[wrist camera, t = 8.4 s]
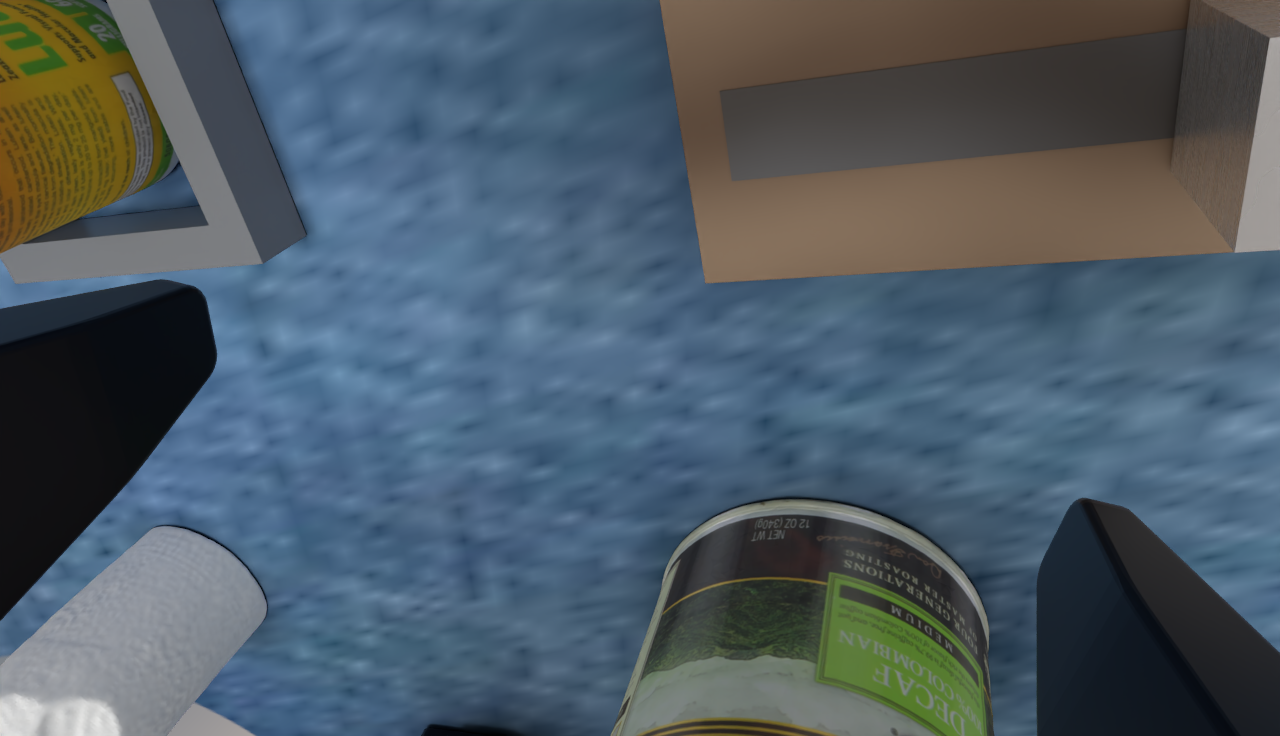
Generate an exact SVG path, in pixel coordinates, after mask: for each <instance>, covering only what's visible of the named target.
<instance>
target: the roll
mask: <svg viewBox="0 0 1280 736" xmlns="http://www.w3.org/2000/svg"><path fill="white" fill-rule="evenodd" d="M266 612H267V603H266V600H265V597H264V595H263V592H262V590H261V588H260V586H259V585H258V583H257V582H256V580H255V579H254V577H253V576H252V575H251V574H250V572H249V570H248V569H247V568H246V567H245V566H244V565H243V564H242V563H241V562H240V561H239V560H238V559H237V558H236V557H235V556H234V555H233V554H232V553H231V552H229V551H228V550H227V549H225V548H224V547H222V546H220V545H219V544H217V543H216V542H214V541H212V540H210V539H207V538H206V537H204V536H202V535H200V534H197V533H194V532H192V531H190V530H187V529H182V528H178V527H171V526H161V527H155V528H153V529H151V530H150V531H149V532H147V533H146V534H145V535H144V536H143V537H142V538H141V539H140V540H139V541H137V542H136V543H135V544H134V545H133V546H132V547H130V548H129V549H127V551H126V552H125V553H124V554H123V555H122V556H120V557H119V558H118V559H117V560H116V561H115V562H113V563H112V564H111V565H110V566H109V567H107V568H106V569H105V570H104V571H103V572H102V573H101V574H99V575H98V576H97V577H96V578H94V579H93V580H92V581H91V582H90V583H89V584H88V585H87V586H86V587H85V588H84V589H82V590H81V591H80V592H79V593H78V594H77V595H76V596H74V597H73V598H72V599H71V600H70V601H69V602H68V603H67V604H66V605H64V607H62V608H61V609H60V610H59V611H58V612H56V613H55V614H54V615H53V616H52V617H51V618H50V619H49V620H48V621H47V622H46V623H45V624H44V625H43V626H42V627H41V628H39V630H38V631H37V632H36V633H35V634H34V635H33V636H31V637H30V638H29V639H28V640H27V641H25V642H24V643H23V644H22V645H21V646H20V647H19V648H18V649H17V650H16V651H15V652H14V653H13V654H12V655H10V656H9V657H8V658H7V659H6V660H5V661H4V663H2V664H1V665H0V736H167V735H168V733H169V732H170V731H171V729H172V728H173V727H174V726H175V725H176V723H177V722H178V721H179V720H180V718H181V717H182V716H183V715H184V713H185V712H186V711H187V710H188V709H189V708H190V707H191V705H192V704H193V703H194V702H195V701H196V699H197V698H198V697H199V696H200V695H201V693H202V692H203V691H204V690H205V689H206V688H207V687H208V685H209V684H210V683H211V681H212V680H213V679H214V678H215V676H216V675H217V674H218V673H219V672H220V670H221V669H222V668H223V667H224V666H225V664H226V663H227V662H228V661H229V660H230V658H231V657H232V656H233V655H234V654H235V653H236V652H237V651H238V650H239V648H240V647H241V646H242V645H243V644H244V643H245V641H246V640H247V639H248V638H249V637H250V636H251V635H252V634H253V632H254V631H255V630H256V629H257V628H258V627H259V626H260V624H261V623H262V622H263V620H264V618H265V616H266Z"/></svg>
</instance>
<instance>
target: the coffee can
mask: <svg viewBox="0 0 1280 736" xmlns="http://www.w3.org/2000/svg"><path fill="white" fill-rule="evenodd" d="M988 649H989V626H988V621H987V615H986V613H985V611H984V607H983V605H982V602H981V600H980V598H979V596H978V594H977V592H976V590H975V588H974V587H973V585H972V584H971V582H970V581H969V579H968V578H967V576H966V575H965V574H964V572H963V571H962V570H961V569H960V568H959V567H958V566H957V565H956V564H955V563H954V561H953V560H952V559H951V558H950V557H949V556H947V555H946V554H945V553H944V552H943V551H942V550H941V549H939V548H938V547H937V546H936V545H934V544H933V543H932V542H930V541H929V540H928V539H926V538H925V537H923V536H922V535H920V534H918V533H917V532H916V531H913V530H911V529H909V528H907V527H905V526H903V525H901V524H899V523H896V522H894V521H893V520H891V519H889V518H886V517H883V516H881V515H879V514H876V513H874V512H871V511H868V510H865V509H862V508H858V507H854V506H849V505H844V504H840V503H835V502H829V501H820V500H809V499H781V500H771V501H765V502H760V503H754V504H749V505H745V506H741V507H738V508H735V509H731V510H729V511H727V512H724V513H722V514H720V515H718V516H715V517H713V518H712V519H710V520H708V521H707V522H705V523H703V524H702V525H700V526H699V527H698V528H697V529H695V530H694V531H693V532H691V533H690V534H689V535H688V536H687V537H686V538H685V539H684V540H683V541H682V542H681V543H680V545H679V546H678V547H677V548H676V550H675V551H674V553H673V555H672V557H671V558H670V561H669V563H668V565H667V568H666V570H665V574H664V578H663V582H662V588H661V592H660V596H659V599H658V602H657V605H656V608H655V611H654V614H653V616H652V619H651V622H650V625H649V628H648V631H647V634H646V637H645V639H644V642H643V645H642V648H641V651H640V654H639V657H638V660H637V662H636V665H635V668H634V671H633V674H632V677H631V680H630V683H629V685H628V688H627V691H626V694H625V697H624V700H623V703H622V706H621V708H620V711H619V714H618V718H617V720H616V722H615V725H614V728H613V731H612V733H611V736H994V731H993V715H992V704H991V693H990V677H989V665H988Z"/></svg>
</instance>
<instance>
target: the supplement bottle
mask: <svg viewBox="0 0 1280 736" xmlns="http://www.w3.org/2000/svg"><path fill="white" fill-rule="evenodd" d="M178 161H179V159H178V156H177V154H176V152H175V150H174V148H173V145H172V143H171V141H170V139H169V137H168V134H167V132H166V130H165V128H164V126H163V123H162V121H161V119H160V117H159V115H158V113H157V110H156V108H155V106H154V104H153V102H152V99H151V97H150V95H149V93H148V91H147V88H146V86H145V84H144V82H143V80H142V77H141V75H140V73H139V71H138V69H137V66H136V64H135V62H134V60H133V58H132V55H131V53H130V51H129V49H128V47H127V45H126V42H125V40H124V38H123V36H122V34H121V31H120V29H119V27H118V25H117V23H116V20H115V18H114V16H113V14H112V12H111V9H110V7H109V5H108V4H107V3H105V2H103V1H102V0H0V254H1V253H3V252H5V251H7V250H9V249H11V248H14V247H16V246H18V245H20V244H22V243H25V242H27V241H29V240H31V239H33V238H36V237H38V236H40V235H42V234H45V233H47V232H49V231H51V230H53V229H56V228H58V227H60V226H62V225H64V224H67V223H69V222H71V221H73V220H76V219H78V218H80V217H82V216H85V215H87V214H89V213H91V212H94V211H96V210H98V209H100V208H103V207H105V206H107V205H109V204H111V203H114V202H116V201H118V200H121V199H123V198H125V197H128V196H130V195H132V194H135V193H137V192H139V191H141V190H143V189H145V188H147V187H149V186H151V185H153V184H155V183H157V182H159V181H160V180H162V179H163V178H165V177H166V176H167V175H168V174H169V173H170V172H171V171H172V170H173V169H174V167H175V166H176V164H177V163H178Z"/></svg>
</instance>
